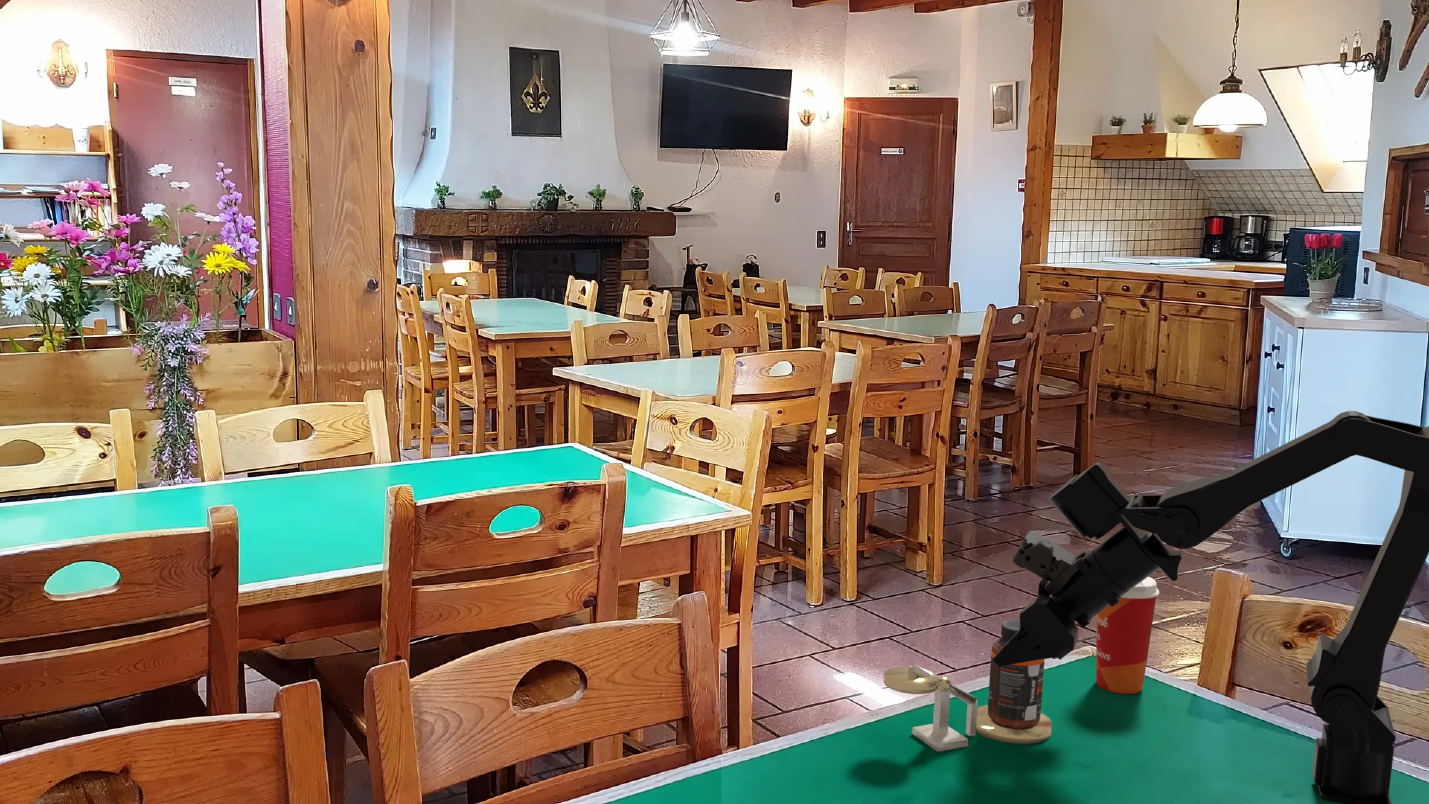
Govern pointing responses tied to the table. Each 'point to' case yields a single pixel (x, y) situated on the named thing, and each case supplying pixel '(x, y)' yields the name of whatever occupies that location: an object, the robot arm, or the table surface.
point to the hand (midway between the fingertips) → (1003, 650)
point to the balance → (939, 732)
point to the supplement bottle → (1014, 686)
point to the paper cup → (1125, 639)
